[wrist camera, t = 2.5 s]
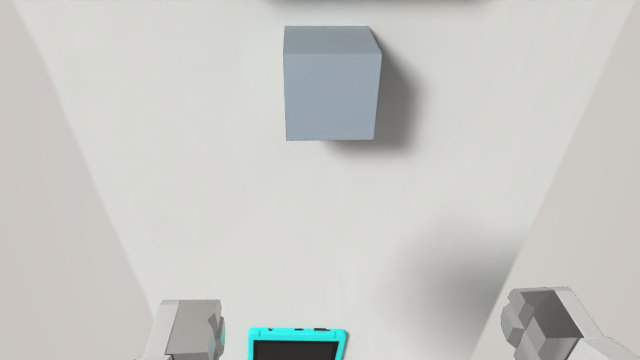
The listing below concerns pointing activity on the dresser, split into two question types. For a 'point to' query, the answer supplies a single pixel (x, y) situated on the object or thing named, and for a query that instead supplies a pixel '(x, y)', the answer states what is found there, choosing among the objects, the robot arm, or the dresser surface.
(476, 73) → the dresser surface
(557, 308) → the robot arm
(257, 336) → the handheld game console
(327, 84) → the slate block
